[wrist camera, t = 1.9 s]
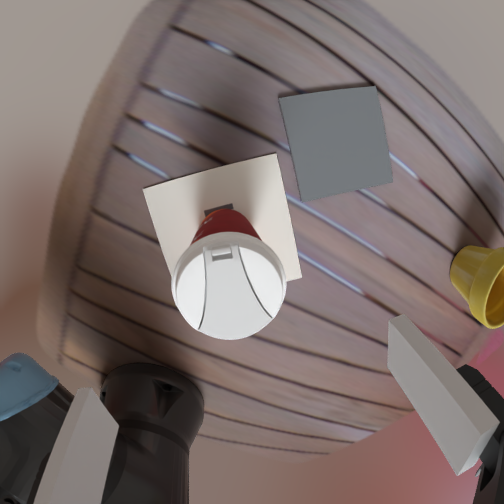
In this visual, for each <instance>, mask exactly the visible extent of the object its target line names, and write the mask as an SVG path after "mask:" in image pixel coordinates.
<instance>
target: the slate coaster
mask: <svg viewBox="0 0 504 504" xmlns="http://www.w3.org/2000/svg"><path fill="white" fill-rule="evenodd" d="M278 101H279V105H280V109H281V113H282V118H283V122H284V126H285V130H286V134H287V139H288V143H289V148H290V152H291V157H292V161H293V166H294V170H295V175H296V180H297V184H298V189H299V194H300V199H301V202H307V201H311V200H315V199H319V198H324V197H328V196H332V195H337V194H341V193H345V192H350V191H354V190H359V189H363V188H368V187H373V186H377V185H382V184H387V183H391V182H393V177H392V170H391V163H390V156H389V150H388V144H387V138H386V133H385V127H384V122H383V117H382V112H381V108H380V103H379V99H378V94H377V90H376V86H371V87H359V88H348V89H339V90H330V91H322V92H315V93H308V94H301V95H295V96H289V97H283V98H279V99H278Z"/></svg>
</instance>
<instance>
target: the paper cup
mask: <svg viewBox="0 0 504 504" xmlns="http://www.w3.org/2000/svg"><path fill="white" fill-rule="evenodd" d="M285 292H286V275H285V270H284V267H283V265H282V262H281V261H280V259H279V257H278V256H277V254H276V253H275V252H274V251H273V250H272V248H270V247H269V246H268V245H267V244H266V243H264V242H263V241H262V240H261V238H260V237H259V235H258V234H257V232H256V231H255V229H254V228H253V226H252V225H251V223H250V222H249V221H248V219H247V218H246V217H245V216H244V215H242V214H241V213H240V212H238V211H235V210H232V209H220V210H216V211H214V212H212V213H210V214H209V215H208V216H207V217H206V218H205V219H204V220H203V221H202V223H201V225H200V226H199V228H198V230H197V232H196V234H195V236H194V238H193V240H192V242H191V244H190V246H189V247H188V248H187V249H186V250H185V251H184V253H183V254H182V255H181V256H180V258H179V260H178V261H177V263H176V265H175V268H174V271H173V275H172V294H173V298H174V301H175V304H176V306H177V307H178V309H179V311H180V312H181V314H182V315H183V317H184V318H185V320H186V321H187V322H188V323H189V324H190V325H191V326H192V327H193V328H194V329H196V330H197V331H199V332H202V333H204V334H206V335H209V336H211V337H214V338H218V339H227V340H234V339H241V338H245V337H248V336H250V335H253V334H254V333H256V332H258V331H260V330H261V329H262V328H264V327H265V326H266V325H267V324H268V323H269V322H270V321H271V320H273V319H274V317H275V316H276V315H277V313H278V311H279V309H280V306H281V304H282V302H283V300H284V297H285Z"/></svg>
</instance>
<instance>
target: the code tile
mask: <svg viewBox="0 0 504 504" xmlns="http://www.w3.org/2000/svg"><path fill="white" fill-rule="evenodd" d="M143 192H144V195H145V199H146V202H147V205H148V208H149V212H150V215H151V218H152V221H153V224H154V227H155V230H156V233H157V237H158V240H159V243H160V246H161V248H162V251H163V254H164V257H165V260H166V263H167V266H168V269H169V271H170V274H171V277H172V275H173V271H174V268H175V265H176V263H177V261H178V260H179V258H180V256H181V255H182V254H183V253H184V251H185V250H186V249H187V248H188V247H189V246H190V244H191V242H192V240H193V238H194V236H195V234H196V232H197V230H198V228H199V226H200V225H201V223H202V221H203V220H204V219H205V218H206V217H207V216H208V215H209V214H210V213H212V212H214V211H216V210H220V209H232V210H235V211H238V212H240V213H241V214H242V215H244V216H245V217H246V218H247V219H248V221H249V222H250V223H251V225H252V226H253V228H254V229H255V231H256V232H257V234H258V235H259V237H260V238H261V240H262V241H263V242H264V243H266V244H267V245H268V246H269V247H270V248H272V250H273V251H274V252H275V253H276V254H277V256H278V257H279V259H280V261H281V262H282V265H283V267H284V270H285V275H286V282H287V281H290V280H294V279H298V278H302V275H301V269H300V264H299V259H298V254H297V249H296V244H295V238H294V234H293V229H292V224H291V219H290V214H289V209H288V204H287V200H286V195H285V190H284V186H283V181H282V177H281V172H280V168H279V163H278V159H277V155H276V153H275V154H271V155H266V156H262V157H258V158H253V159H249V160H245V161H241V162H237V163H233V164H229V165H225V166H221V167H217V168H214V169H210V170H206V171H202V172H199V173H195V174H192V175H188V176H185V177H181V178H178V179H174V180H171V181H168V182H164V183H161V184H158V185H155V186H151V187H148V188H145V189H143Z"/></svg>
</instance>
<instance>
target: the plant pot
mask: <svg viewBox="0 0 504 504" xmlns="http://www.w3.org/2000/svg"><path fill="white" fill-rule="evenodd" d="M450 279H451V282H452V284H453V285H454V287H455V288H456V289H457V290H458V291H459V293H460V294H461V295H462V296H463V297H464V299H465V300H466V301H467V302H468V304H469V308H470V311H471V313H472V314H473V316H474V317H475V318H476V319H478V320H479V321H480V322H481V323H482V324H484V325H485V326H486V327H488V328H491V329H495V328H498V327H500V326H502V325H503V324H504V247H501V248H497V249H489V248H483V247H478V246H472V245H470V246H466V247H464V248H462V249H461V250H460V251H459V252H458V253H457V255H456V256H455V258H454V260H453V262H452V265H451V269H450Z"/></svg>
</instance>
